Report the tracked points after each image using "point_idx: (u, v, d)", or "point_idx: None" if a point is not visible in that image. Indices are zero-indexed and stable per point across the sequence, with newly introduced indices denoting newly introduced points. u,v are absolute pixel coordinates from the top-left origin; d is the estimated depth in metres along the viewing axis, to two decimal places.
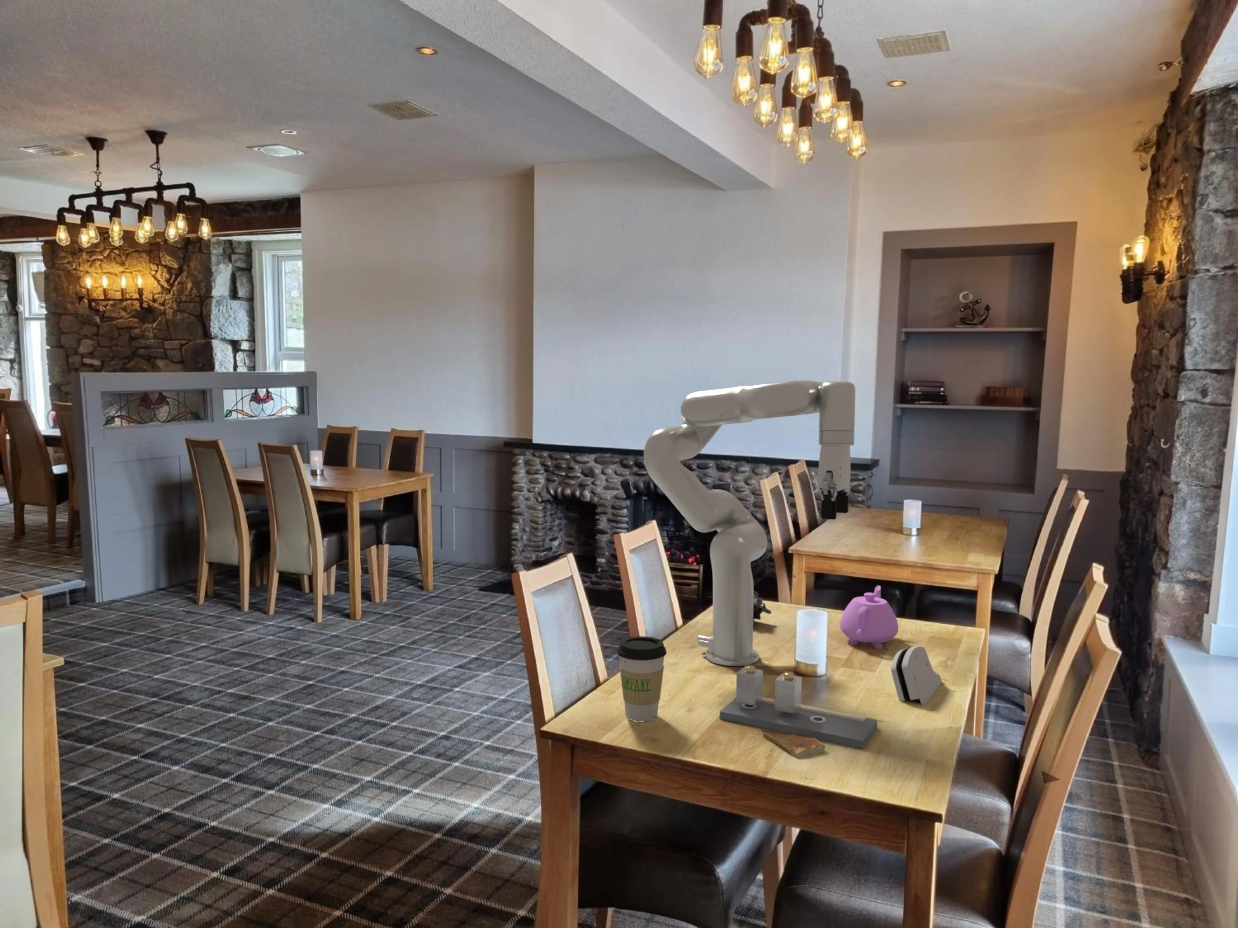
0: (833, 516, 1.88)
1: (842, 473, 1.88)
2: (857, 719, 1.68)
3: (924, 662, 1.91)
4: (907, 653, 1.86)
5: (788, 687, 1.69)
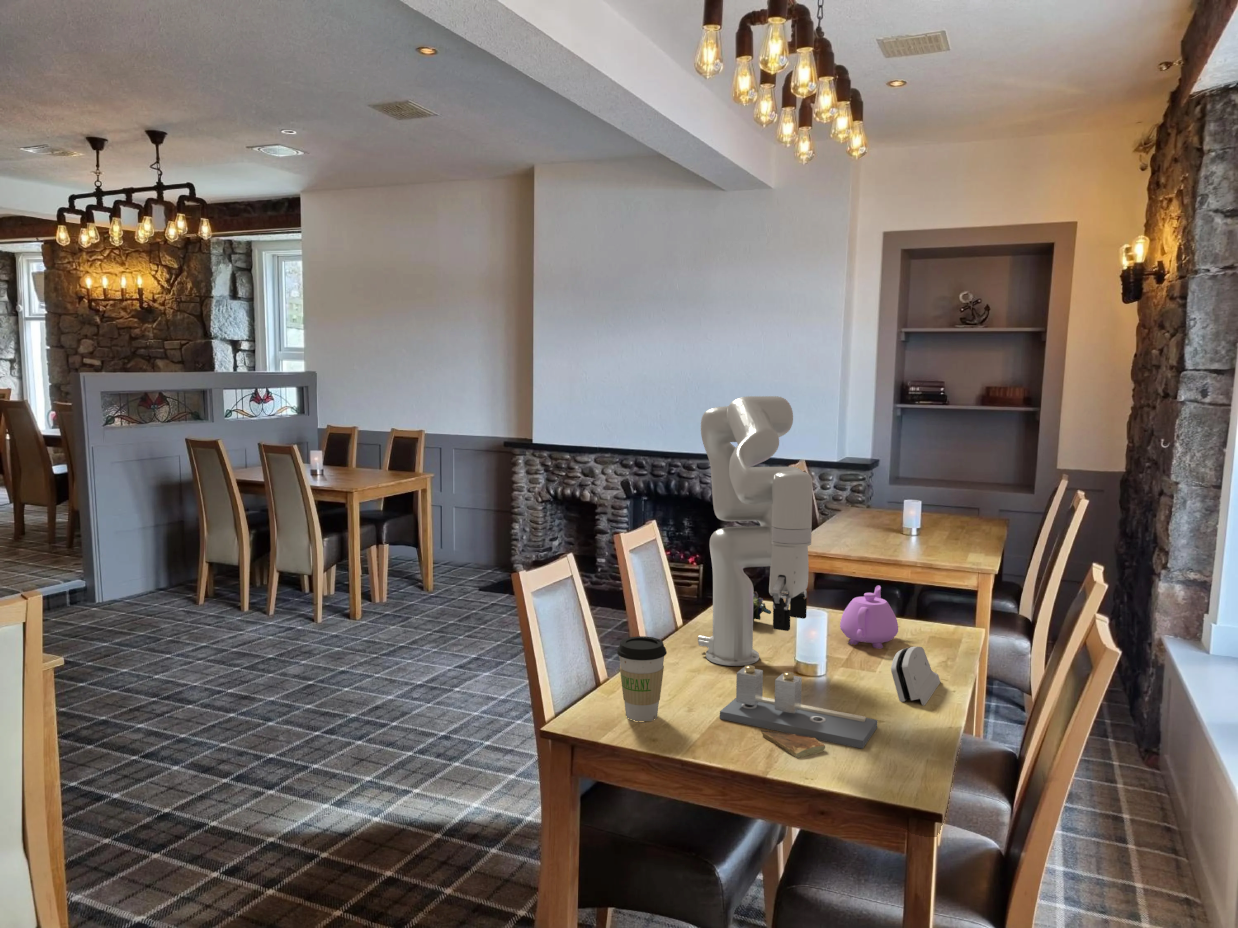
0: (786, 627, 1.64)
1: (796, 578, 1.64)
2: (857, 719, 1.68)
3: (923, 662, 1.91)
4: (907, 653, 1.86)
5: (788, 687, 1.69)
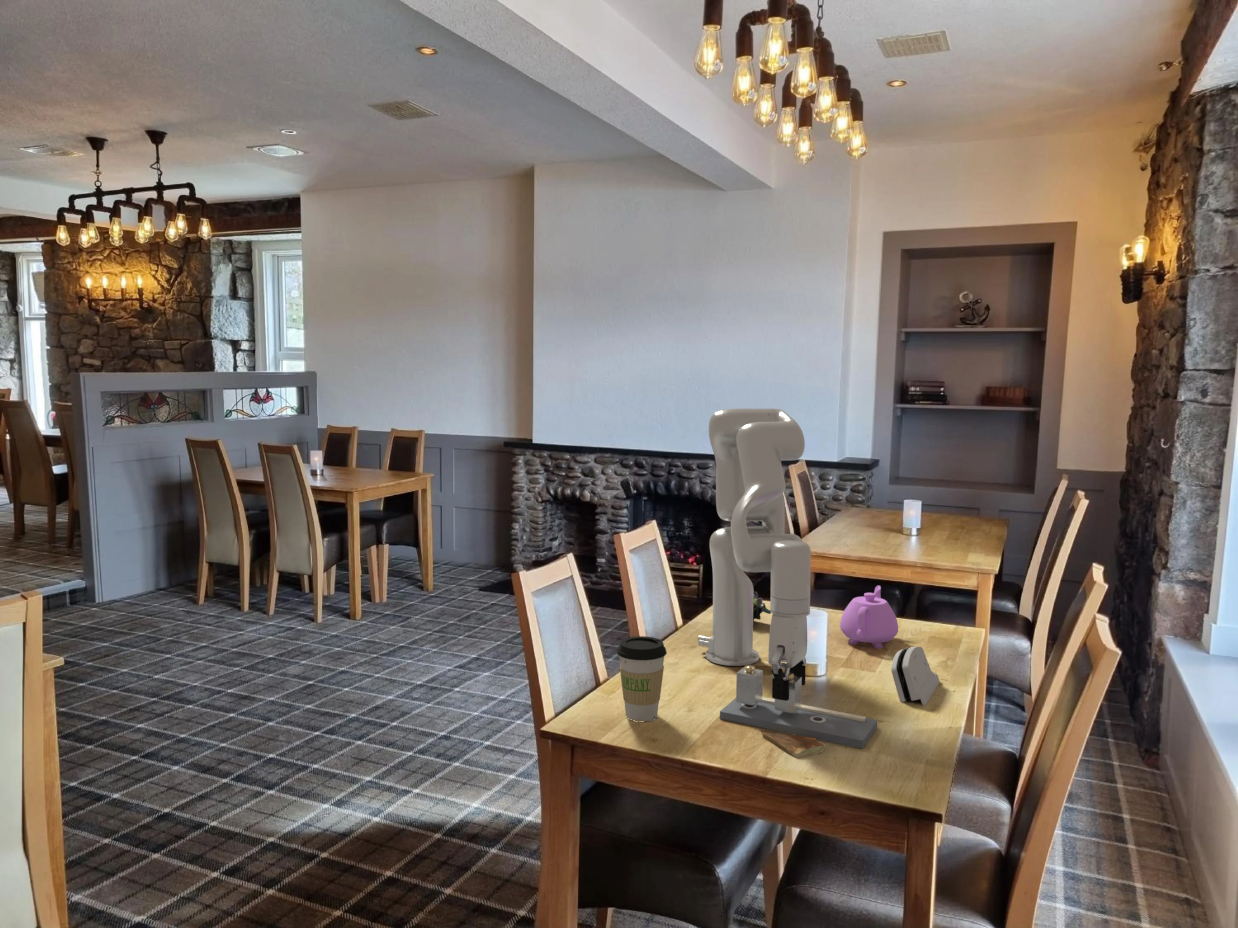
0: (785, 697, 1.65)
1: (795, 648, 1.66)
2: (857, 719, 1.68)
3: (923, 662, 1.91)
4: (907, 653, 1.86)
5: None
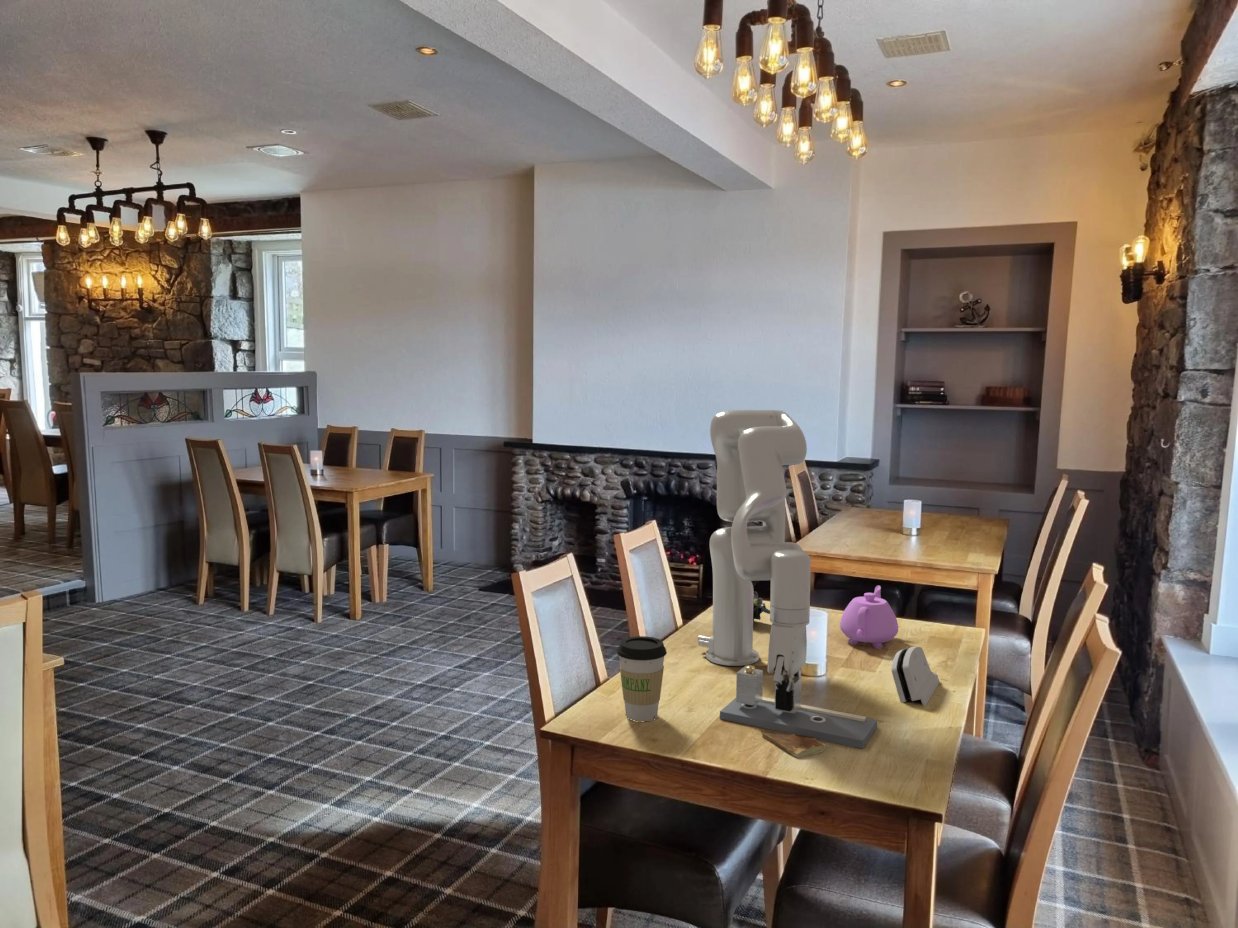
0: (789, 707, 1.68)
1: (794, 657, 1.66)
2: (857, 719, 1.68)
3: (922, 662, 1.91)
4: (907, 654, 1.86)
5: None
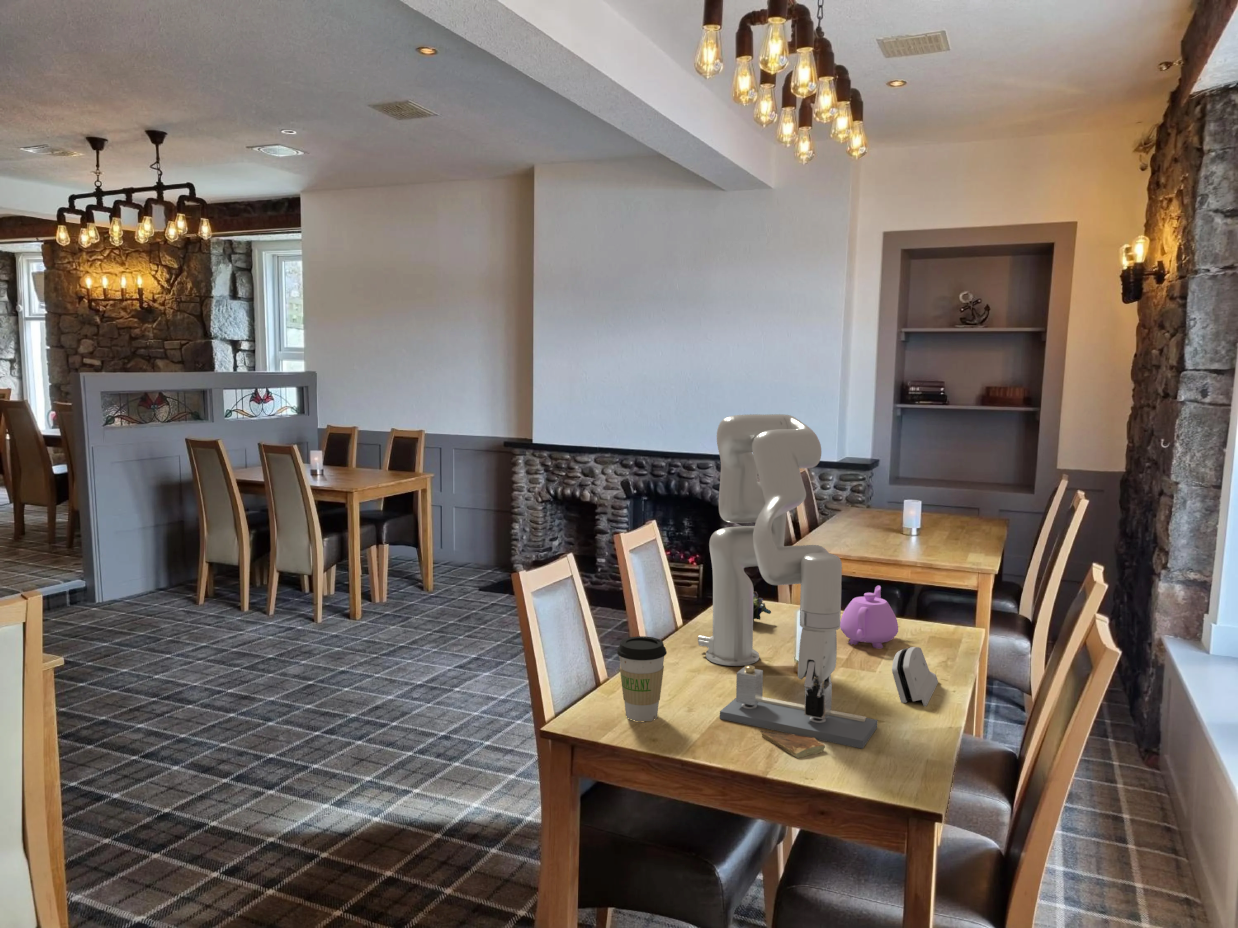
0: (819, 713, 1.65)
1: (825, 663, 1.63)
2: (857, 719, 1.68)
3: (922, 663, 1.90)
4: (907, 654, 1.85)
5: None
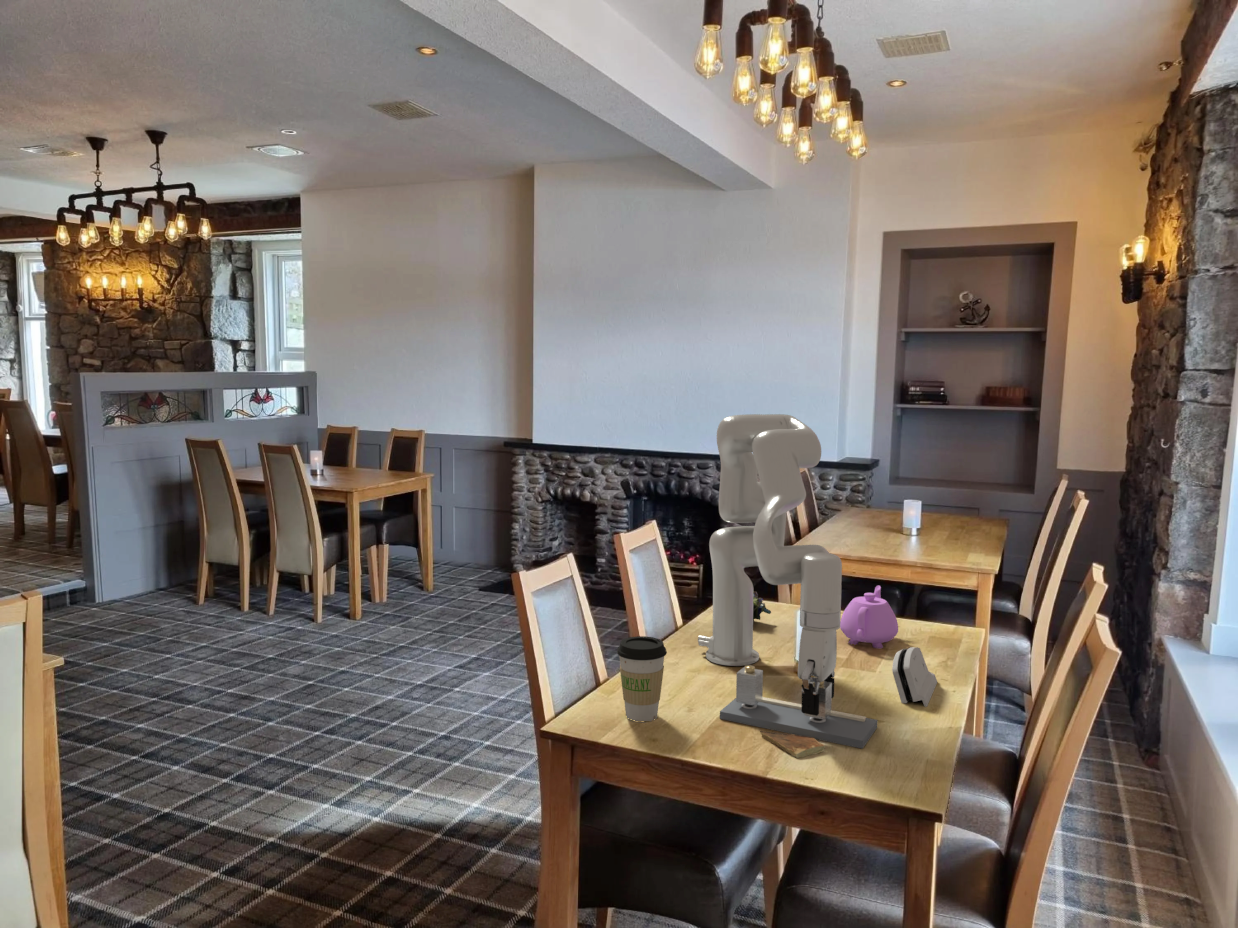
0: (815, 711, 1.63)
1: (825, 662, 1.63)
2: (857, 719, 1.68)
3: (921, 663, 1.90)
4: (907, 654, 1.85)
5: (819, 692, 1.66)
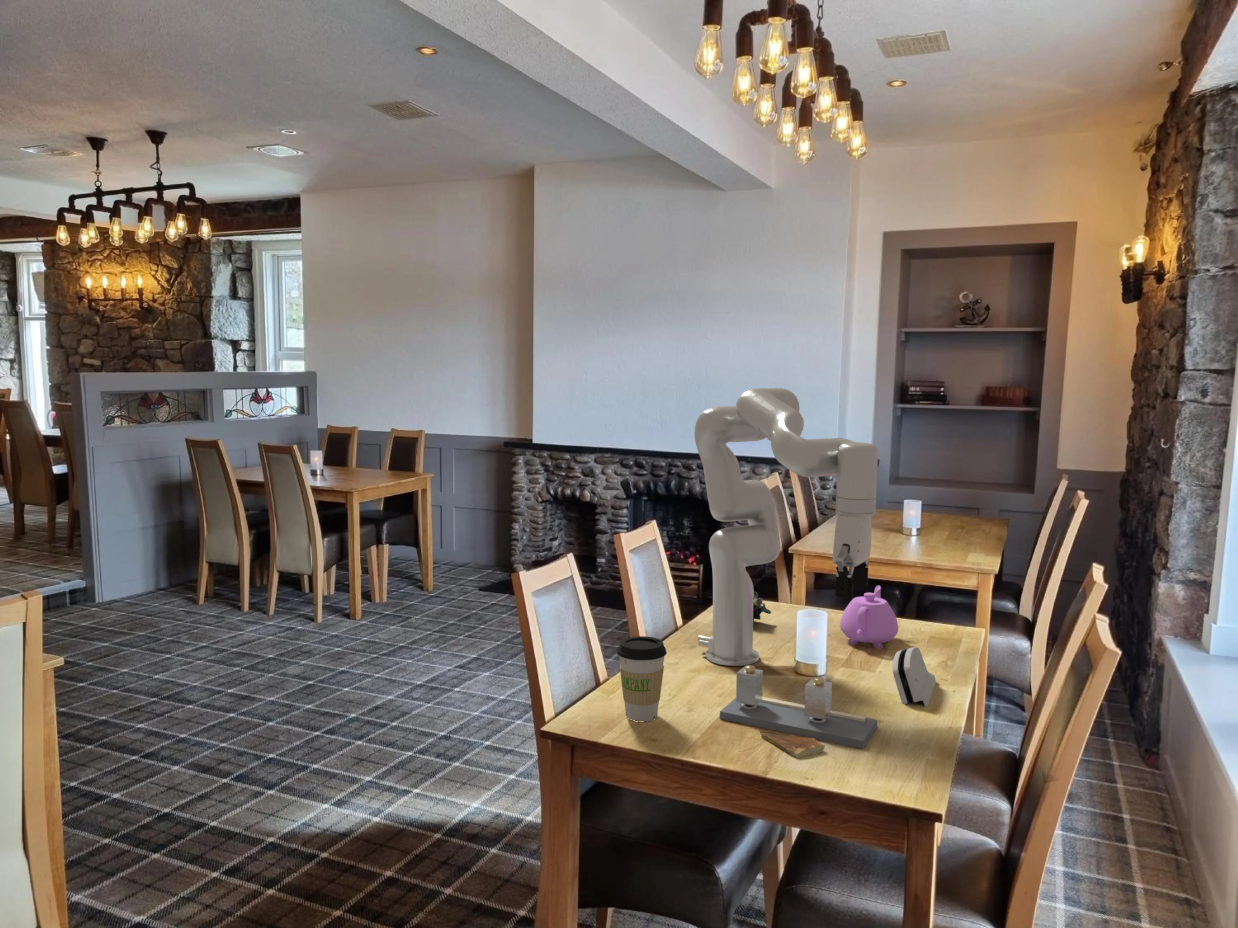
0: (849, 594, 1.68)
1: (860, 547, 1.68)
2: (857, 719, 1.68)
3: (920, 663, 1.90)
4: (907, 655, 1.85)
5: (819, 692, 1.66)
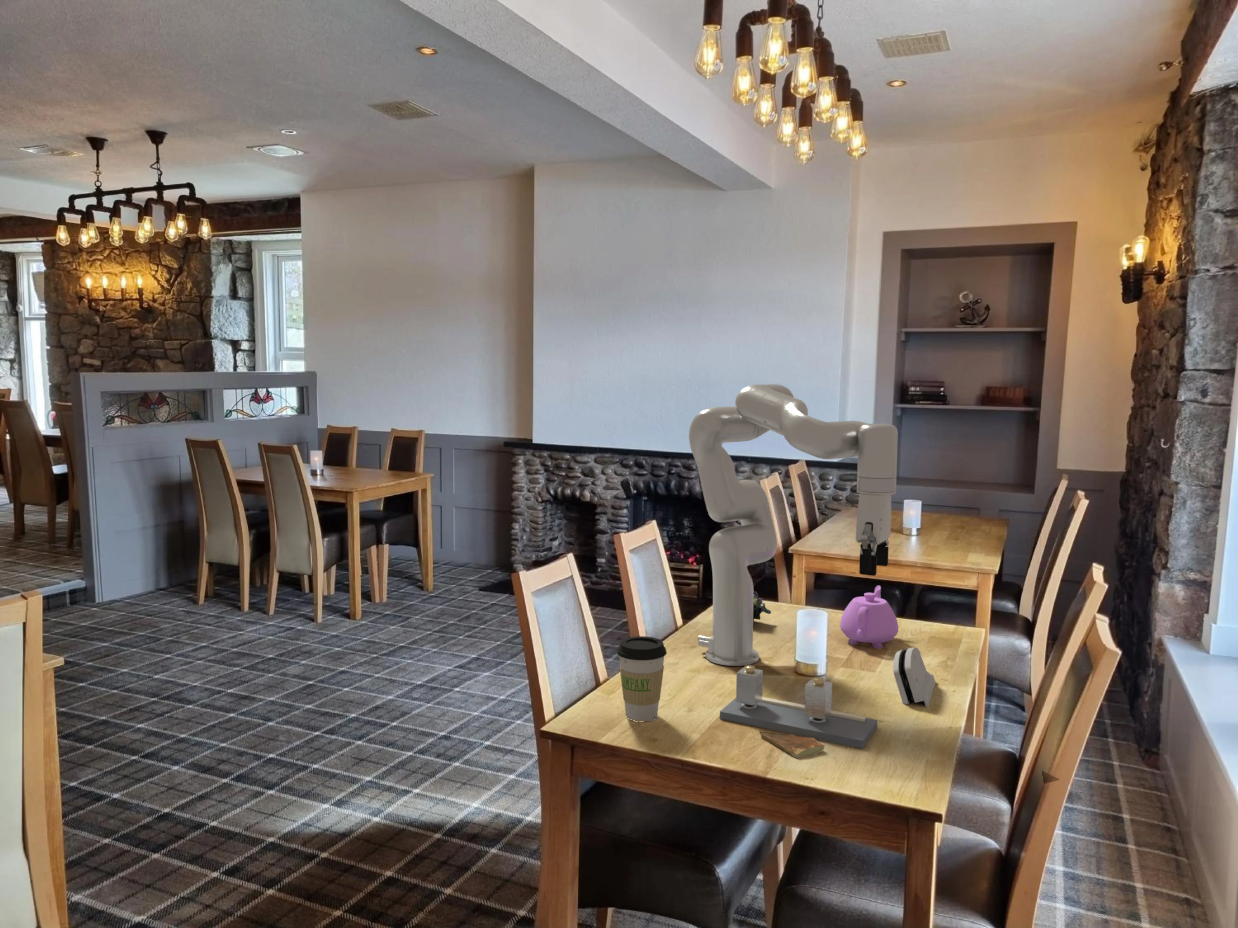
0: (873, 572, 1.71)
1: (882, 525, 1.71)
2: (857, 719, 1.68)
3: (920, 663, 1.90)
4: (907, 655, 1.85)
5: (819, 692, 1.66)
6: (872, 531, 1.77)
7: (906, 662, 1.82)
